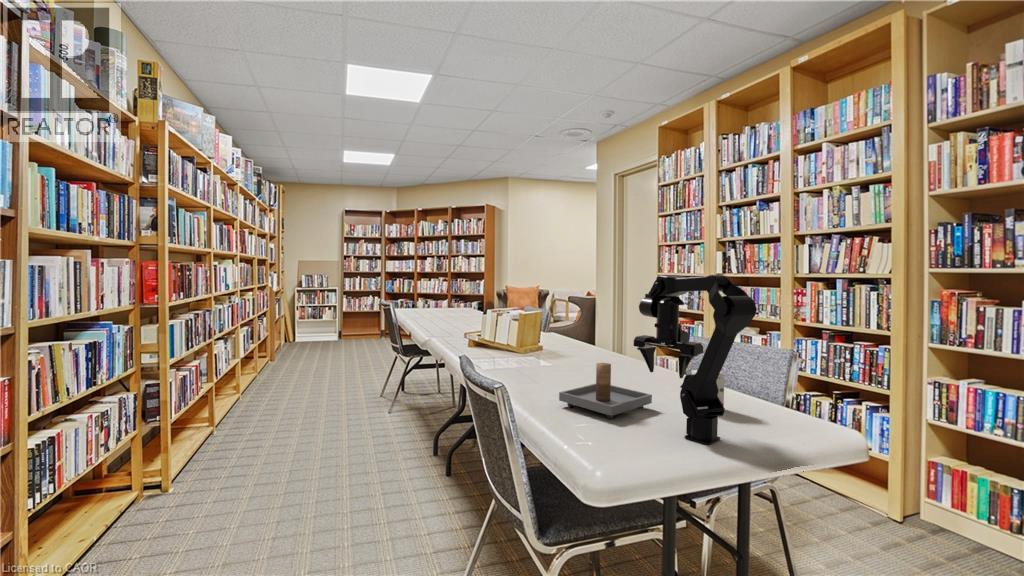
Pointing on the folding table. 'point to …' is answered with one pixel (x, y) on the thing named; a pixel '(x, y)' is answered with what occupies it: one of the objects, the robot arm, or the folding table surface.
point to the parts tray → (618, 402)
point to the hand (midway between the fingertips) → (666, 375)
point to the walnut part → (603, 382)
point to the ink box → (720, 387)
